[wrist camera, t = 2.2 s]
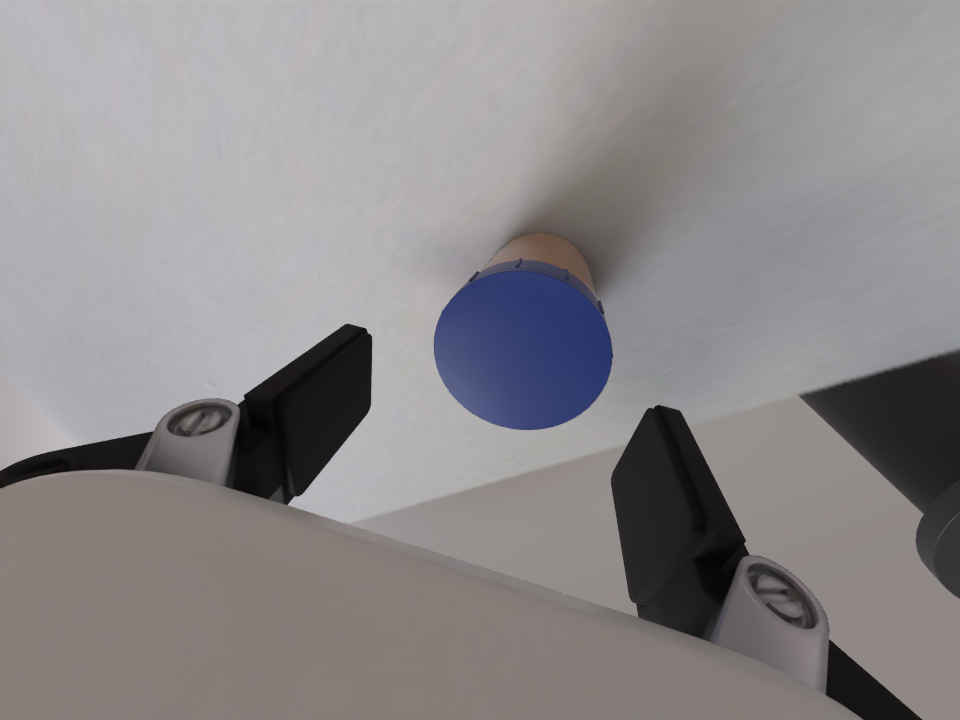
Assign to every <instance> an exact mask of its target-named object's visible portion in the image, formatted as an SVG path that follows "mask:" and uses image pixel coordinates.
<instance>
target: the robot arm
mask: <svg viewBox="0 0 960 720" xmlns="http://www.w3.org/2000/svg"><path fill="white" fill-rule="evenodd" d="M371 375H372V336H371V335H370V334H368V332H367V330H366V329H365V328H362V327H358V326H355V325H351V324H345V325H344V326H342V327H341V328H339V329H338V330H337V331H335V332H334V333H332V334H331V335H329V336H328V337H327V338H325V339H324V340H322V341H321V342H319V343H318V344H317V345H315V346H314V347H312V348H311V349H309V350H308V351H307V352H305V353H304V354H302V355H301V356H299V357H298V358H297V359H295V360H294V361H292V362H291V363H289V364H288V365H287V366H285V367H284V368H282V369H281V370H279V371H278V372H276V373H275V374H274V375H272V376H271V377H269V378H268V379H266V380H265V381H264V382H262V383H261V384H259V385H258V386H256V387H255V388H254V389H252V390H251V391H249V392H248V393H246V394H245V395H244V398H245V400H243V401H242V402H241V403H239V404H238V405H236V404H235V403H233V402H231V401H229V400H225V399H220V398H208V399H202V400H196V401H192V402H189V403H186V404H183V405H181V406H179V407H177V408H174V409H172V410H171V411H170V412H168V413H167V414H166V415H164V416H163V417H162V419H161V420H160V421H159V422H158V424H157V426H156V428H155V430H154V431H153V432H148V433H143V434H138V435H133V436H127V437H122V438H117V439H112V440H107V441H102V442H97V443H92V444H87V445H82V446H77V447H72V448H67V449H62V450H57V451H52V452H47V453H44V454H40V455H36V456H33V457H30V458H27V459H25V460H22V461H19V462H17V463H14V464H13V465H11V466H9V467H7V468H5V469H3V470H1V471H0V720H922V719H921V718H920V717H918V716H917V715H916V714H915V713H914V712H913V711H911V710H910V709H909V708H908V707H907V706H906V705H905V704H903V703H902V702H901V701H900V700H899V699H898V698H896V697H895V696H894V695H893V694H892V693H891V692H889V691H888V690H887V689H886V688H885V687H884V686H883V685H881V684H880V683H879V682H878V681H877V680H876V679H875V678H873V677H872V676H871V675H870V674H869V673H868V672H866V671H865V670H864V669H863V668H862V667H861V666H859V665H858V664H857V663H856V662H855V661H854V660H852V659H851V658H850V657H849V656H848V655H847V654H846V653H844V652H843V651H842V650H841V649H840V648H839V647H837V646H836V645H835V644H834V643H833V642H832V641H831V640H829V623H828V618H827V615H826V613H825V611H824V609H823V607H822V606H821V604H820V602H819V601H818V600H817V598H816V597H815V596H814V594H813V593H812V592H811V591H810V590H809V589H808V588H807V587H806V585H804V584H803V582H802V581H801V580H800V579H798V578H797V577H796V576H795V575H793V574H792V573H791V572H789V571H788V570H787V569H785V568H784V567H782V566H781V565H779V564H777V563H776V562H773V561H772V560H769V559H767V558H764V557H761V556H754V555H749V553H748V551H747V549H746V547H745V545H744V543H745V542H746V540H745V538H744V536H743V534H742V532H741V530H740V528H739V526H738V524H737V522H736V520H735V518H734V516H733V514H732V512H731V510H730V508H729V506H728V504H727V502H726V500H725V498H724V496H723V494H722V492H721V490H720V488H719V486H718V484H717V482H716V480H715V478H714V476H713V474H712V473H711V470H710V469H709V467H708V464H707V463H706V461H705V459H704V457H703V455H702V453H701V451H700V449H699V447H698V445H697V443H696V441H695V439H694V437H693V435H692V433H691V431H690V429H689V427H688V425H687V423H686V421H685V419H684V417H683V415H682V413H681V412H680V411H679V410H676V409H672V408H668V407H664V406H661V405H657V406H655V407H654V408H653V409H652V408H648V409H647V410H646V412H645V414H644V415H643V417H642V419H641V421H640V423H639V425H638V427H637V428H636V430H635V432H634V434H633V436H632V438H631V440H630V441H629V443H628V445H627V447H626V449H625V451H624V453H623V455H622V456H621V458H620V460H619V462H618V464H617V465H616V467H615V469H614V471H613V474H612V477H611V486H612V493H613V499H614V505H615V510H616V517H617V524H618V530H619V536H620V542H621V548H622V554H623V561H624V567H625V573H626V579H627V585H628V592H629V596H630V599H631V601H632V602H634V603H636V605H637V611H638V617H639V618H638V617H635V616H632V615H629V614H626V613H623V612H620V611H617V610H613V609H611V608H607V607H605V606H601V605H598V604H595V603H592V602H589V601H586V600H583V599H580V598H577V597H574V596H571V595H568V594H564V593H562V592H558V591H555V590H552V589H549V588H546V587H543V586H540V585H537V584H534V583H531V582H528V581H525V580H521V579H518V578H515V577H512V576H509V575H506V574H503V573H500V572H497V571H493V570H490V569H487V568H484V567H481V566H478V565H474V564H472V563H468V562H465V561H462V560H459V559H456V558H453V557H450V556H446V555H443V554H440V553H437V552H434V551H431V550H428V549H424V548H421V547H418V546H415V545H412V544H409V543H405V542H402V541H399V540H396V539H393V538H390V537H387V536H383V535H380V534H377V533H374V532H370V531H368V530H364V529H361V528H358V527H355V526H352V525H348V524H345V523H342V522H339V521H336V520H332V519H329V518H326V517H323V516H320V515H316V514H313V513H310V512H307V511H304V510H300V509H297V508H294V507H291V506H288V504H289V502H290V501H291V500H292V499H293V497H294V496H300V495H302V494H303V493H304V492H305V490H306V489H307V488H308V487H309V485H310V484H311V483H312V482H313V480H314V479H315V478H316V477H317V475H318V474H319V473H320V472H321V471H322V469H323V468H324V467H325V466H326V464H327V463H328V462H329V461H330V459H331V458H332V457H333V456H334V454H335V453H336V452H337V451H338V449H339V448H340V447H341V446H342V445H343V443H344V442H345V441H346V440H347V438H348V437H349V436H350V435H351V433H352V432H353V431H354V430H355V428H356V427H357V426H358V425H359V423H360V422H361V421H362V420H363V418H364V417H365V416H366V415H367V413H368V411H369V409H370V406H371Z"/></svg>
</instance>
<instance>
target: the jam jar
mask: <svg viewBox="0 0 960 720" xmlns="http://www.w3.org/2000/svg"><path fill="white" fill-rule="evenodd" d="M519 258H522V260H534V261H540V262H545V263H549V264H552V265H555V266H558V267H560V268H562V269H564V270H566V268H567V269H569V273H571V274H573V275H574V276H576V277H577V278H578V279H579V280H581V281H582V282H583V283H584V284H585V285H586V286H587V287H588V288H589V289H590V291H591V292H592V293H593V294H594V296H595V297H596V294H595V290H594V286H593V282H592V278H591V274H590V270H589V267H588V264H587V262H586V260H585V258H584V257H583V255H582V254H581V252H580V251H579V250H578V249H577V248H576V247H575V246H574V245H573V244H572V243H570V242H569V241H567V240H565V239H563V238H561V237H559V236H556V235H553V234H548V233H531V234H526V235H522V236H520V237H517V238H515V239H513V240H512V241H510V242H508V243H507V244H506V245H505V246H503V247H502V248H501V249H500V250H499V251H498V252H497V254H496V255H495V256H494V257H493V258H492V259H491V260H490V261H489V263H488V264H487V265H486V266H485V267H484V268H483V269H482V270H481V271H483V270H485V269H487V268H489V267H491V266H494V265H496V264H499V263H503V262H508V261H515V260H519ZM596 299H597V298H596Z"/></svg>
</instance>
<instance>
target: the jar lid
mask: <svg viewBox="0 0 960 720" xmlns="http://www.w3.org/2000/svg"><path fill="white" fill-rule="evenodd" d="M434 355H435V361H436V365H437V368H438V371H439V374H440V376H441V378H442V380H443V382H444V384H445V386H446V387H447V389H448V390H449V392H450V393H451V394H452V395H453V397H454V398H455V399H456V400H457V401H458V402H459V403H460V404H461V405H462V406H463V407H465V408H466V409H467V410H469V411H470V412H471V413H473V414H474V415H476V416H478V417H479V418H481V419H483V420H485V421H488V422H490V423H492V424H495V425H498V426H502V427H506V428H511V429H518V430H537V429H545V428H550V427H554V426H557V425H560V424H563V423H565V422H567V421H569V420H571V419H573V418H575V417H577V416H578V415H580V414H581V413H582V412H584V411H585V410H586V409H587V408H589V407H590V405H591V404H592V403H593V402H594V401H595V400H596V399H597V398H598V396H599V395H600V393H601V392H602V390H603V388H604V387H605V385H606V383H607V380H608V377H609V374H610V370H611V365H612V358H613V353H612V344H611V338H610V334H609V331H608V327H607V323H606V320H605V316H604V310H603V307H602V303H601V301H598V300H597V299H596V297H595V296H594V294H593V293H592V292H591V291H590V289H589V288H588V287H587V286H586V285H585V284H584V283H583V282H582V281H581V280H579V279H578V278H577V277H576V276H574V275H573V274H571V273H569V269H567V268H566V270H564V269H562V268H560V267H558V266H555V265H552V264H549V263H545V262H540V261H534V260H522V258H519V260H515V261H508V262H503V263H499V264H496V265H494V266H491V267H489V268H487V269H485V270H483V271H481V272H478V271H477V272H476V273H475V274H474V275H473V276H472V277H471V278H470V279H469V281H468V282H467V283H466V284H465V285H464V286H463V287H462V288H461V289H460V290H459V291H458V292H457V294H456V295H455V296H454V297H453V298H452V299H451V300H450V302H449V303H448V304H447V306H446V307H445V308H444V310H443V311H442V313H441V316H440V318H439V321H438V324H437V326H436V331H435V336H434Z"/></svg>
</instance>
